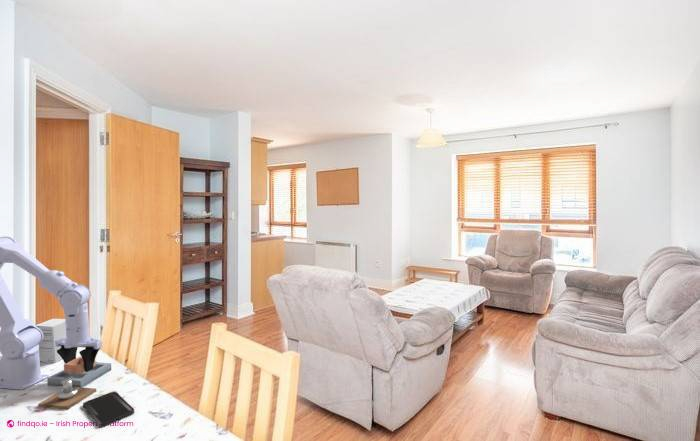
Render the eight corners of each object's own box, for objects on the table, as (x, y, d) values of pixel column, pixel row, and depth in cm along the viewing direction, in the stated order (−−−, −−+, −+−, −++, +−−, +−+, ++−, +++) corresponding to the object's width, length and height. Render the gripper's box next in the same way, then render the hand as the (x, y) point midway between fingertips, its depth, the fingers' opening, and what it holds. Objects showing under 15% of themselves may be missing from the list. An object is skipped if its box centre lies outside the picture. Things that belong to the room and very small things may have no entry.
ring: (61, 374, 111) (60, 366, 110) (80, 364, 117) (79, 356, 117) (77, 375, 110) (76, 367, 110) (95, 365, 116) (95, 357, 116)
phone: (114, 390, 105) (135, 410, 95) (115, 394, 105) (135, 414, 95) (81, 403, 99) (99, 425, 89) (81, 407, 99) (100, 429, 89)
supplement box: (55, 352, 132) (53, 318, 131) (74, 353, 131) (71, 318, 130) (35, 362, 125) (32, 325, 124) (54, 363, 124) (52, 326, 123)
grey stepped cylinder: (53, 399, 100) (52, 382, 100) (68, 391, 105) (67, 374, 104) (68, 400, 100) (66, 383, 99) (82, 392, 104) (81, 375, 104)
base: (38, 406, 98) (38, 403, 98) (68, 389, 107) (68, 386, 107) (67, 409, 97) (67, 406, 97) (96, 391, 106) (96, 388, 106)
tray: (47, 385, 109) (47, 378, 109) (80, 367, 120) (80, 361, 120) (81, 388, 108) (80, 380, 108) (111, 369, 119) (111, 363, 119)
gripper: (44, 330, 110) (47, 374, 111) (87, 332, 108) (90, 377, 109) (65, 322, 117) (68, 363, 118) (106, 324, 115) (109, 366, 116)
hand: (80, 369), depth 114 cm, fingers closed on ring, 5 cm apart
